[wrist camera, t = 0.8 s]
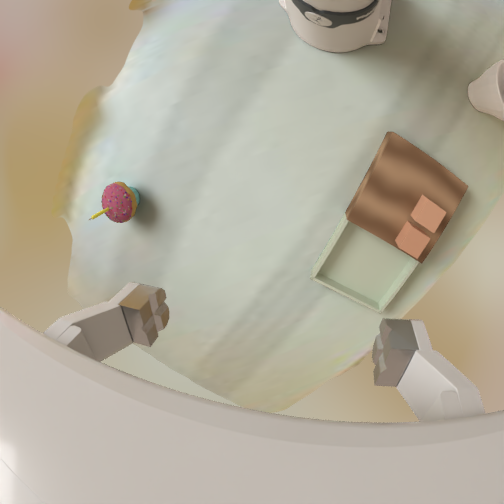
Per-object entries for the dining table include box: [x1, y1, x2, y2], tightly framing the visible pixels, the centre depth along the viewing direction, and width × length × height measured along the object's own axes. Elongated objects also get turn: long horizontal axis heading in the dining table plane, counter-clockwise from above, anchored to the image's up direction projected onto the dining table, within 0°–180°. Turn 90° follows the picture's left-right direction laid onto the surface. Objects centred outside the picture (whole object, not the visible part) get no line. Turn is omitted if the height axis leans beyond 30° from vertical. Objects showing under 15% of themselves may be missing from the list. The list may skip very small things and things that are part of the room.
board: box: [345, 132, 468, 263], centre depth 40 cm, size 16×16×4 cm
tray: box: [310, 214, 419, 314], centre depth 48 cm, size 13×16×3 cm
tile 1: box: [395, 220, 430, 259], centre depth 40 cm, size 4×4×3 cm
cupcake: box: [89, 182, 140, 223], centre depth 50 cm, size 9×8×12 cm
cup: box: [468, 59, 504, 121], centre depth 24 cm, size 10×10×14 cm
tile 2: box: [411, 195, 447, 233], centre depth 37 cm, size 4×4×3 cm
